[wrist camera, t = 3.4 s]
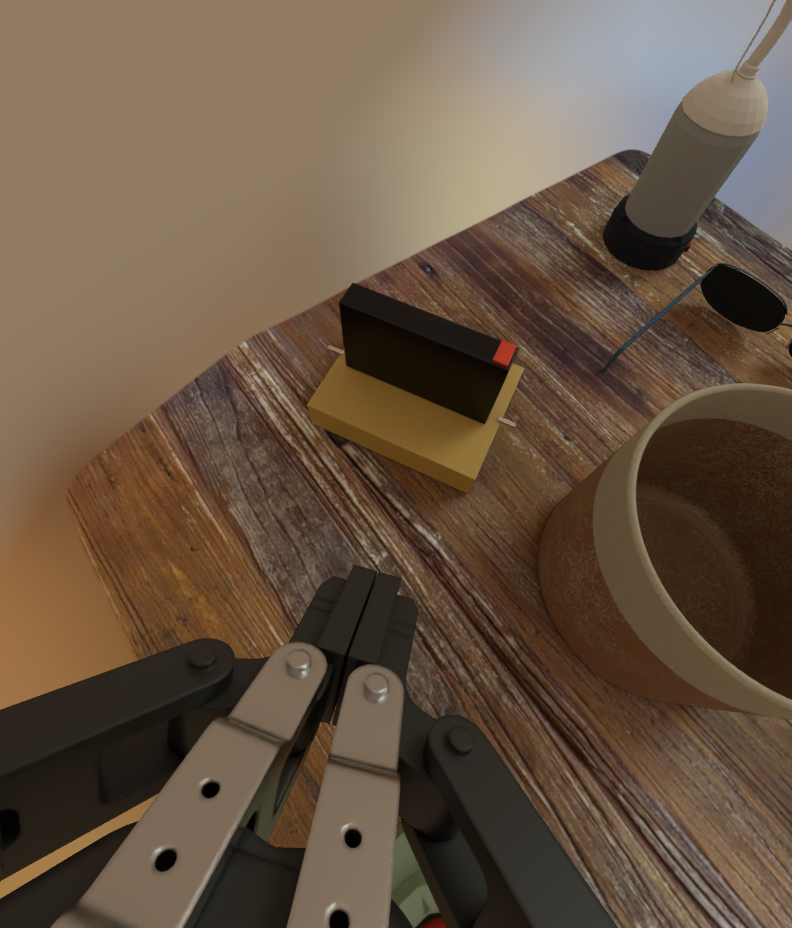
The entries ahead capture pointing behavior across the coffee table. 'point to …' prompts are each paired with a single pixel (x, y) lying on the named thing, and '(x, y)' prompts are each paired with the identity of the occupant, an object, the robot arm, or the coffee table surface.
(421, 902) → the button block
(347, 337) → the block
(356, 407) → the plate
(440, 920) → the button
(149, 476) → the coffee table surface
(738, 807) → the coffee table surface
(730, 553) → the planter
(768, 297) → the sunglasses
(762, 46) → the humidifier
